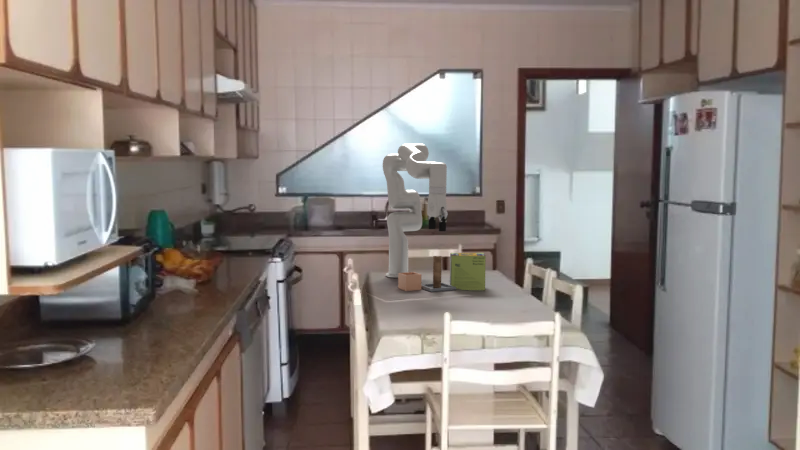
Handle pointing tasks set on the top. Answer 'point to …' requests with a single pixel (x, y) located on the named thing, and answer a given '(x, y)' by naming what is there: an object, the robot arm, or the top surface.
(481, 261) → the protein box
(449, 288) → the tray
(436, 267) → the dowel
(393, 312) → the top surface
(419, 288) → the holder
